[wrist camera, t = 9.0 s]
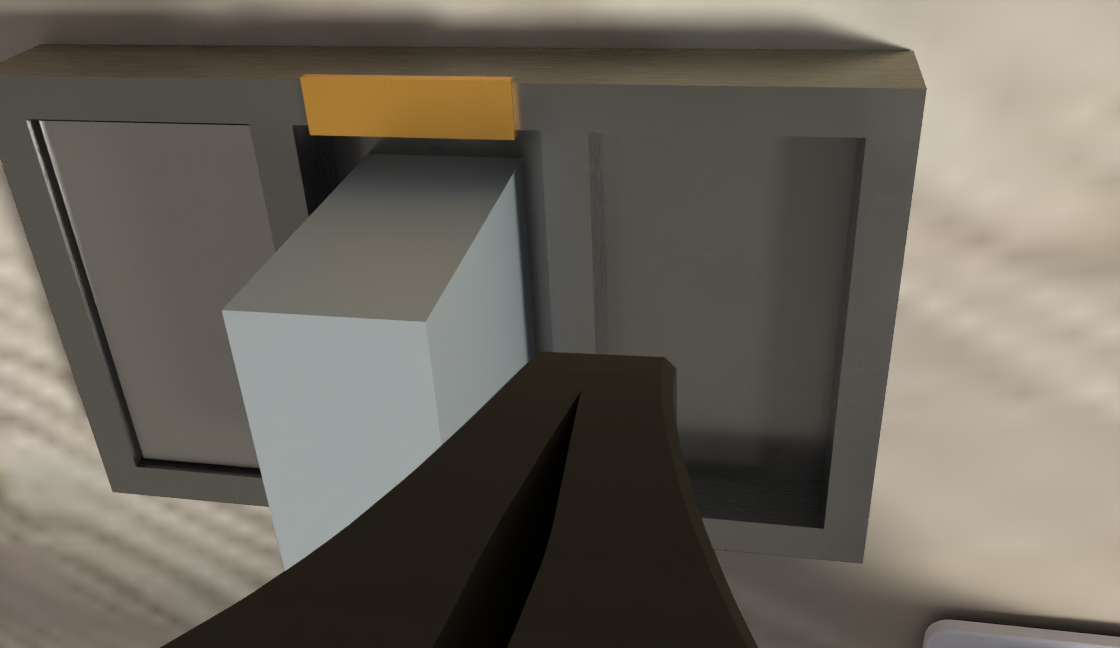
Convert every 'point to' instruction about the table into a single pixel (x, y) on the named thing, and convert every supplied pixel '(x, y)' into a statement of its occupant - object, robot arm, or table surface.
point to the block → (380, 333)
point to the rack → (552, 226)
